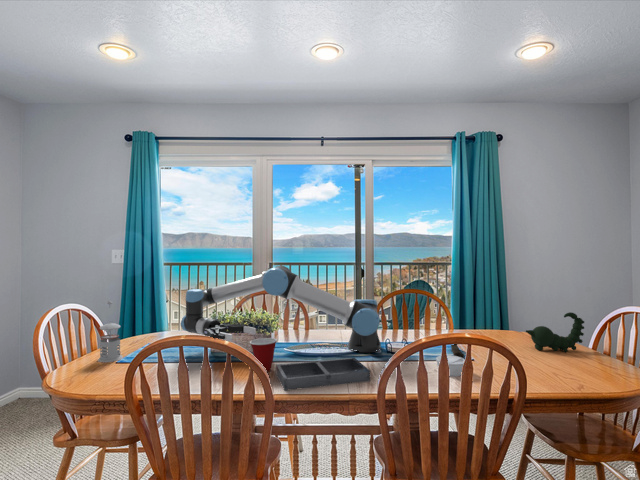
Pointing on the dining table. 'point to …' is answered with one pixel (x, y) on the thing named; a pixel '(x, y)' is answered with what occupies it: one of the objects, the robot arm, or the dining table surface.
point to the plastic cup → (264, 351)
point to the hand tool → (456, 351)
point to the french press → (110, 343)
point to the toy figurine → (557, 336)
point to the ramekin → (453, 364)
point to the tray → (321, 373)
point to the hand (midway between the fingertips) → (243, 334)
